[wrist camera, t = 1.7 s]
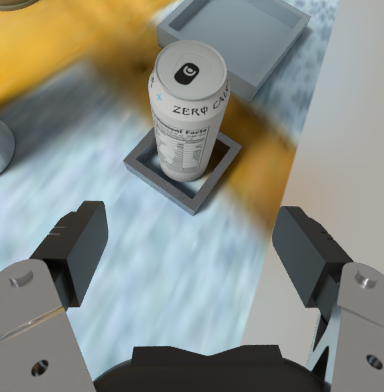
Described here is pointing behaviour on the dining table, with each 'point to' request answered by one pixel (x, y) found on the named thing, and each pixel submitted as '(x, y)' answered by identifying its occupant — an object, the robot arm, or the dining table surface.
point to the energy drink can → (187, 106)
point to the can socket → (189, 205)
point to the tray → (238, 35)
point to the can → (15, 4)
